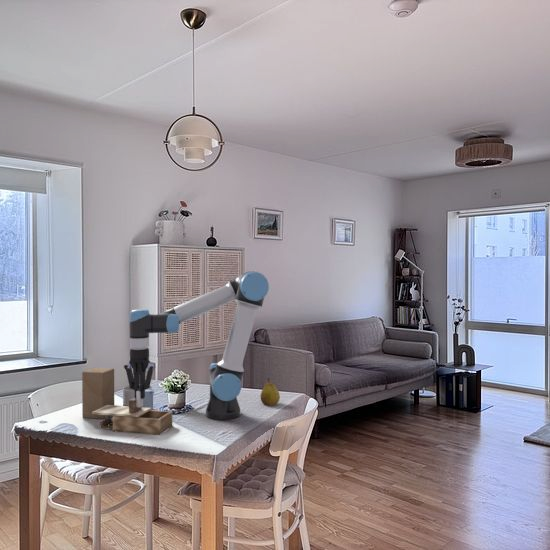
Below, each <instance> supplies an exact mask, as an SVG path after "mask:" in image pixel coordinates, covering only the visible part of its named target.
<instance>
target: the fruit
mask: <svg viewBox="0 0 550 550" xmlns="http://www.w3.org/2000/svg"><path fill="white" fill-rule="evenodd" d="M267 380H268V382H266V383H265V384H264V386H263V388H262V391H261V392H260V402H261V403H262V404H263V405H265V406H270V407H272V406H276V405H277V404H278V403H279V401H280V398H281V395H280V392H279V390H278V388H277V387H276V386H275V384H274V383H273V382H270V378H269V377H268V378H267Z"/></svg>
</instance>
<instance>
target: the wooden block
mask: <svg viewBox="0 0 550 550" xmlns="http://www.w3.org/2000/svg"><path fill="white" fill-rule="evenodd" d="M81 374H82V375H81V376H82V381H81V384H82V391H81V392H82V393H81V394H82V402H81V403H82V412H81V413H82V418H84V419H97V420H98V419H99V420H105V419H107V418H108V417H110V415H98V414H92V412H93V411H95V410H98V409H100V408H102V407H104V406H106V405H115V369H114V368H111V367H93V368H89V369H87V370H85V371H82V373H81Z"/></svg>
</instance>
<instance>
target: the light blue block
mask: <svg viewBox="0 0 550 550" xmlns="http://www.w3.org/2000/svg"><path fill="white" fill-rule="evenodd" d="M154 394H155V390H154V389H152V390H149V389H146V390H145V398H143V406H142V407H146V408H151V410H154Z"/></svg>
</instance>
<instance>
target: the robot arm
mask: <svg viewBox="0 0 550 550" xmlns="http://www.w3.org/2000/svg"><path fill="white" fill-rule="evenodd" d="M269 287H270V286H269V281H268V279H267V278H266V276H265V275H264V274H263V273H261V272H259V271H246V272H243V273H242V274H241V275H239V276H236V277H235V278H234V279H231V280H229V281H227V284H225V285H224V286H221V287H218V288H216V289H214V290H211V291H209V292H206V293H204V294H202V295H200V296H197V297H195V298H192V299H191V300H187V301H186V302H183V303H181V304H178V305H177V306H174V307H172V308H170V309H167V310H163V311H161V312H159V313H158V314H151V313H150V310H149V309H132V310H131V311H130V312H129V348H130V349H129V358H130V359H129V361H128V363H127V364H124V365H123V368H124V369H125V372H126V376H127V382H128V384H129V385H128V386H130V389H133V390H134V391H135V398H136V407H142V406H143V398H145V390H146V389H148V388H149V387H150V386H151V381H152V379H153V378H152V377H153V373H154V370H155V368H156V365H153V364H151V361H150V348H149V347H150V334H159V333H160V334H173V333H179V330H180V324H183V323H185V322H187V321H189V320H192V319H195V318H196V317H199V316H201V315H203V314H205V313H209V312H210V311H213V310H216V309H218V308H220V307H222V306H225V305H227V304H229V303H232V302H235V303H236V309H235V311H234V312H235V313H234V315H233V318H232V322H231V326H230V328H229V329H230V330H229V333H228V336H227V340H226V343H225V344H226V345H225V348H224V351H223V355H222V358H221V360H220V361H218V362H214V363H213V362H212V363H211V364H210V365H209V399H208V403H207V406H206V409H205V417H206V418H208V419H211V420H233V419H235V418H238V417H240V416H241V407H240V405H239V401H238V396H239V395H240V394H241V390H242V380H243V376H244V373H245V369H244V367H243V363H244V359H245V356H246V352H247V348H248V344H249V341H250V337H251V333H252V330H253V327H254V322H255V319H256V316H257V312H258V310H259V309H261V308H262V307H263V304H264V300H265V298H266V296H267V295H268V293H269V289H270V288H269ZM147 369H148V370H147ZM139 389H140V390H139Z"/></svg>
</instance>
